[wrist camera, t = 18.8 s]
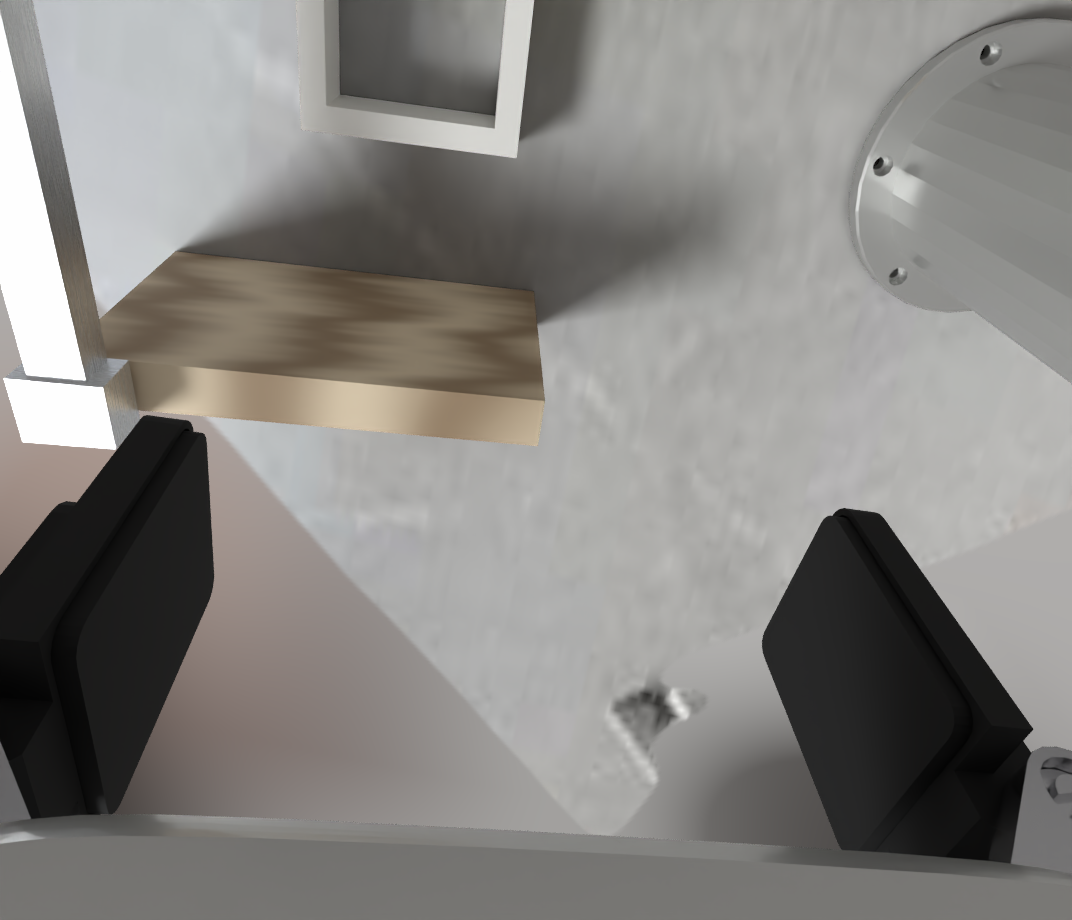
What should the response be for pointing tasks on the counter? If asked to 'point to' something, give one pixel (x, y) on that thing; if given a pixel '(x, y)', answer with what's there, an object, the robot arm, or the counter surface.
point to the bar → (49, 265)
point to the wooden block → (331, 349)
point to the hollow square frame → (403, 120)
